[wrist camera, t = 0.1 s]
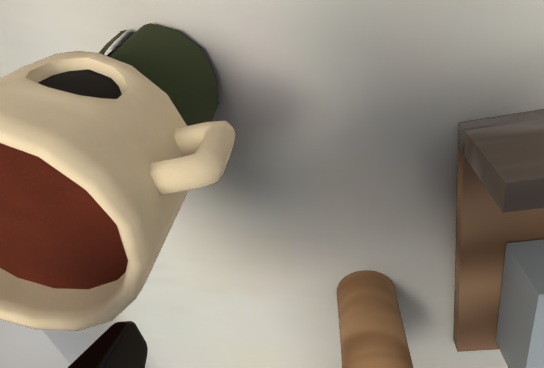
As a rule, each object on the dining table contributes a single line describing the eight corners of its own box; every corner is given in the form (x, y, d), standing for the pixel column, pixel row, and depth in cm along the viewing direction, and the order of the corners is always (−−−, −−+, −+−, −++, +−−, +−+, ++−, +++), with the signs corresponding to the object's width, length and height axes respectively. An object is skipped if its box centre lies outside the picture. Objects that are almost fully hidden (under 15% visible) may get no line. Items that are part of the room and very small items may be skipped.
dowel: (395, 308, 29) (431, 462, 21) (340, 312, 30) (352, 463, 21) (392, 267, 27) (430, 420, 19) (333, 273, 28) (343, 423, 19)
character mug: (242, -15, 19) (143, 63, 8) (278, 124, 22) (247, 315, 11) (40, 40, 21) (-263, 164, 10) (103, 159, 24) (-67, 348, 13)
